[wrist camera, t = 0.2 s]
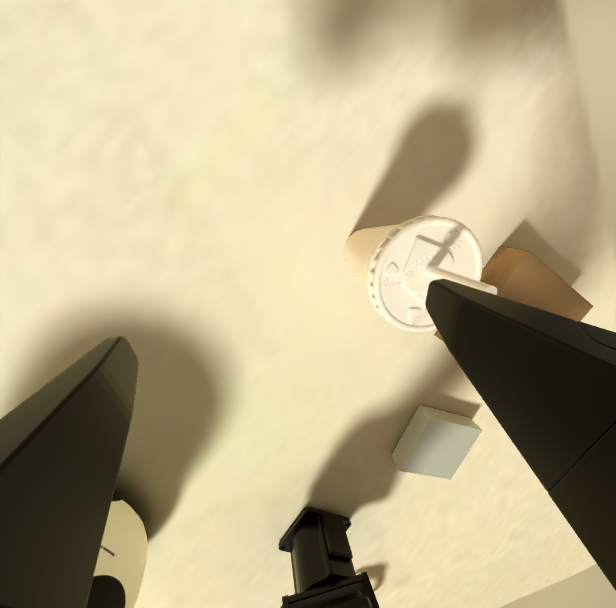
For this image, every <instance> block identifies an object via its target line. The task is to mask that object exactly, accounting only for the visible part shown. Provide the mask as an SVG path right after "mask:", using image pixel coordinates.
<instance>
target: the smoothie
mask: <svg viewBox="0 0 616 608" xmlns="http://www.w3.org/2000/svg"><path fill="white" fill-rule="evenodd" d="M344 258H345V261H346V263H347V265H348V266H349V267H350V269H351V270H352V271H353V272H354V274H355V275H356V276H357V278H358V279H359V280H360V281H361V283H362V284H363V285H364V287H365V288H366V289H367V290H368V292H369V296H370V300H371V302H372V304H373V306H374V307H375V309H376V311H377V312H378V313H379V314H380V315H381V316H382V317H383V318H384V319H386V320H387V321H389V322H391V323H392V324H393V325H395V326H397V327H399V328H401V329H404V330H407V331H413V332H423V331H429V330H433V329H436V326H435V324H434V323H433V321H432V319H431V317H430V315H429V313H428V312H427V310H426V306H425V301H426V296H427V291H428V286H429V283H430V282H431V281H433V280H438V279H447V280H451V281H454V282H457V283H460V284H463V285H466V286H470V287H473V288H476V289H479V290H482V291H485V292H488V293H492V294H495V295H496V294H497V288H496V287H494V286H491V285H489V284H486V283H483V282H480V279H481V274H482V262H483V261H482V253H481V249H480V245H479V243H478V241H477V239H476V237H475V236H474V234H473V233H472V232H471V231H470V229H469V228H467V227H466V226H465V225H464V224H462V223H460V222H458V221H456V220H454V219H451V218H446V217H439V216H435V215H428V216H417V217H415V218H412V219H409V220H407V221H404V222H402V223H401V224H397V225H389V226H381V227H373V228H364V229H360V230H358V231H356V232H354V233H353V234H352V235H351V236H350V237H349V238H348V240H347V241H346V243H345V246H344Z"/></svg>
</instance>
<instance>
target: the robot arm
mask: <svg viewBox="0 0 616 608" xmlns="http://www.w3.org/2000/svg"><path fill="white" fill-rule="evenodd" d="M425 306H426V310H427V312H428V313H429V315H430V317H431V319H432V321H433V323H434V324H435V326H436V328H437V330H438V332H439V334H440V336H441V337H442V339H443V341H444V343H445V344H446V346H447V348H448V349H449V351H450V352H451V354H452V355H453V357H454V358H455V360H456V361H457V363H458V364H459V366H460V367H461V368H462V370H463V371H464V373H465V374H466V376H467V377H468V378H469V380H470V381H471V383H472V384H473V386H474V387H475V389H476V390H477V391H478V393H479V394H480V396H481V397H482V399H483V400H484V401H485V403H486V404H487V406H488V407H489V409H490V410H491V412H492V413H493V414H494V416H495V417H496V419H497V420H498V422H499V423H500V424H501V426H502V427H503V429H504V430H505V432H506V433H507V435H508V436H509V437H510V439H511V440H512V442H513V443H514V445H515V446H516V448H517V449H518V450H519V452H520V453H521V455H522V456H523V458H524V459H525V460H526V462H527V463H528V465H529V466H530V468H531V469H532V471H533V472H534V473H535V475H536V476H537V478H538V479H539V481H540V482H541V483H542V485H543V486H544V488H545V489H546V491H548V494H549V495H550V497H551V498H552V500H553V501H554V503H555V504H556V505H557V507H558V508H559V510H560V511H561V513H562V514H563V515H564V517H565V518H566V520H567V521H568V523H569V524H570V525H571V527H572V528H573V530H574V531H575V533H576V534H577V536H578V537H579V538H580V540H581V541H582V543H583V544H584V546H585V547H586V548H587V550H588V551H589V553H590V554H591V556H592V557H593V559H594V560H595V561H596V563H597V564H598V566H599V567H600V569H601V570H602V572H603V573H604V574H605V576H606V577H607V579H608V580H609V582H610V583H611V584H612V586H613V587H614V589H615V590H616V333H615V332H612V331H609V330H605V329H602V328H599V327H596V326H592V325H589V324H586V323H583V322H580V321H577V322H576V321H575V320H573V319H570V318H567V317H564V316H561V315H558V314H555V313H551V312H548V311H545V310H542V309H539V308H536V307H532V306H529V305H526V304H523V303H520V302H517V301H514V300H510V299H507V298H504V297H501V296H498V295H495V294H492V293H488V292H485V291H482V290H479V289H476V288H473V287H470V286H466V285H463V284H460V283H457V282H454V281H451V280H447V279H438V280H433V281H431V282H430V283H429V286H428V291H427V296H426V301H425ZM137 373H138V358H137V356H136V354H135V352H134V351H133V349H132V347H131V346H130V344H129V342H128V341H127V339H126V338H125V337H123V336H118V337H112V338H107V339H105V340H104V341H102V342H101V343H100V344H98V345H97V346H96V347H95V348H93V349H92V350H91V351H89V352H88V353H87V354H85V355H84V356H83V357H81V358H80V359H79V360H77V361H76V362H75V363H74V364H72V365H71V366H70V367H68V368H67V369H66V370H64V371H63V372H62V373H60V374H59V375H58V376H57V377H55V378H54V379H53V380H51V381H50V382H49V383H47V384H46V385H45V386H43V387H42V388H41V389H39V390H38V391H37V392H36V393H34V394H33V395H32V396H30V397H29V398H28V399H26V400H25V401H24V402H22V403H21V404H20V405H19V406H17V407H16V408H15V409H13V410H12V411H11V412H9V413H8V414H7V415H5V416H4V417H3V418H1V419H0V608H86V605H87V601H88V596H89V592H90V588H91V584H92V580H93V576H94V572H95V568H96V563H97V559H98V555H99V551H100V547H101V543H102V539H103V535H104V531H105V526H106V522H107V518H108V514H109V510H110V506H111V502H112V498H113V493H114V489H115V485H116V481H117V477H118V473H119V469H120V465H121V461H122V456H123V452H124V448H125V444H126V440H127V436H128V432H129V428H130V423H131V419H132V414H133V407H134V399H135V390H136V382H137ZM350 526H351V521H350V519H349V518H345V517H342V516H338V515H334V514H331V513H327V512H324V511H320V510H316V509H313V508H305V509H304V510H303V512H302V513H301V514H300V516H299V517H298V518H297V520H296V521H295V522H294V524H293V525H292V526H291V528H290V529H289V531H288V532H287V533H286V535H285V536H284V537H283V539H282V540H281V541H280V543H279V550H281V551H286V552H290V553H291V561H292V570H293V579H294V588H295V594H294V595H291V596H288V595H287V596H283V597H282V602H283V605H282V607H281V608H379V605H378V602H377V600H376V597H375V594H374V591H373V589H372V586H371V583H370V580H369V578H368V575H367V572H366V571H365V572H361V574H359V575H356V574H355V570H354V567H353V563H352V560H351V559H352V557H353V556H352V552H351V549H350V545H349V542H348V538H347V535H346V531H347V529H348V528H349V527H350Z"/></svg>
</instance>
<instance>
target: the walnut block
mask: <svg viewBox="0 0 616 608" xmlns="http://www.w3.org/2000/svg"><path fill="white" fill-rule="evenodd" d="M480 282H483V283H486V284H489V285H491V286H494V287H496V288H497V294H496V295H498V296H501V297H504V298H507V299H510V300H514V301H517V302H520V303H523V304H526V305H529V306H532V307H536V308H539V309H542V310H545V311H548V312H551V313H555V314H558V315H561V316H564V317H567V318H570V319H573V320H575V321H576V322H577V321H581V320H582V319H583V318H584V316H585V315H586V314H587V313H588V312H589V311H590V309H591V308H592V307H593V305H591V304H590V303H589V302H588V301H587V300H586V299H584V298H583V297H582V296H581V295H580V294H579V293H577V292H576V291H575V290H574V289H573V288H572V287H571V286H569V285H568V284H567V283H566V282H565V281H564V280H562V279H561V278H560V277H559V276H558V275H557V274H555V273H554V272H553V271H552V270H551V269H550V268H548V267H547V266H546V265H545V264H544V263H543V262H541V261H540V260H539V259H538V258H537V257H536V256H535V255H533V254H532V253H531V252H530V251H526V250H520V249H514V248H508V247H502V246H500V247H499V249H498V250H497V251H496V253H495V254H494V255H493V257H492V258H491V260H490V261H489V262H488V264H487V265H486V266H485V268H484V269H483V270H482V274H481V279H480ZM435 336H437V337H438V338H439V339H441V340H442V341H443V339H442V337H441V336H440V334H439V332H438V331H437V332H436V334H435Z"/></svg>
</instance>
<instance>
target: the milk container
mask: <svg viewBox="0 0 616 608" xmlns="http://www.w3.org/2000/svg"><path fill="white" fill-rule="evenodd" d="M146 555H147V535H146V531H145V528H144V523H143V521H142V518H141V517H140V515H139V514H138V512H137V511H136V510H135V509H134V508H133V507H132V505H131V504H130V503H129V502H128V501H127V500H125V499H124V498H123V497H121V496H119V495H118V494H116V493H113V498H112V502H111V506H110V510H109V514H108V518H107V522H106V526H105V531H104V535H103V539H102V543H101V547H100V551H99V555H98V559H97V563H96V568H95V572H94V576H93V580H92V584H91V588H90V592H89V596H88V601H87V605H86V608H134V605H135V602H136V600H137V597H138V594H139V591H140V587H141V584H142V580H143V575H144V570H145V563H146Z"/></svg>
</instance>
